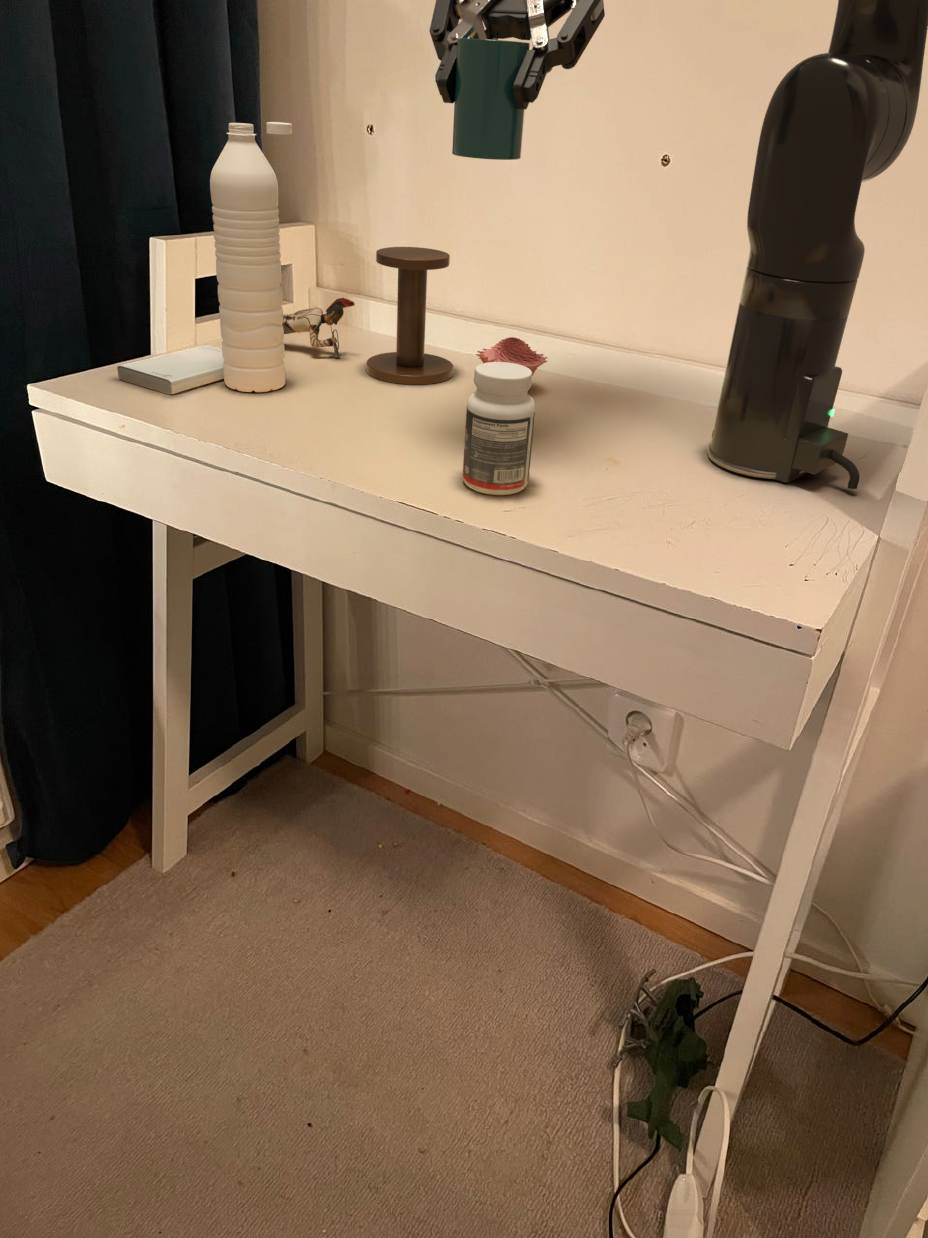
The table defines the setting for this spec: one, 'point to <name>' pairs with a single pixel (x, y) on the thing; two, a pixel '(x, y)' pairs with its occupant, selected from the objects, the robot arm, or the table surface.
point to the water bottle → (249, 261)
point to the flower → (513, 354)
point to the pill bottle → (499, 429)
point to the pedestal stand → (411, 320)
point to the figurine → (317, 322)
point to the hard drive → (176, 370)
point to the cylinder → (487, 99)
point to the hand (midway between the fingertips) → (481, 96)
